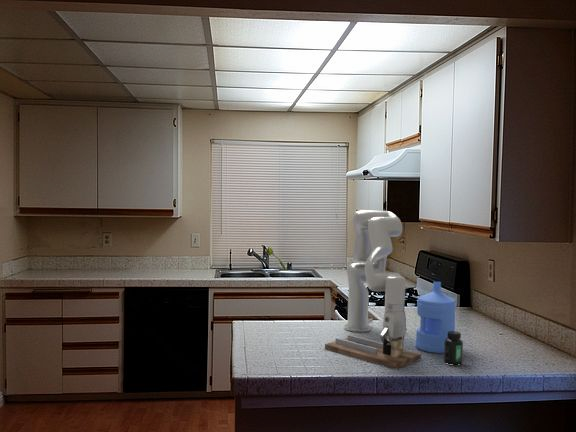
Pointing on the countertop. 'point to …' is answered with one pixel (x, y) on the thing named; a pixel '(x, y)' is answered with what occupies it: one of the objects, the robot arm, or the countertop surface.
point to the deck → (374, 355)
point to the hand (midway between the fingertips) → (393, 352)
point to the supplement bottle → (453, 348)
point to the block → (396, 347)
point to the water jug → (435, 320)
